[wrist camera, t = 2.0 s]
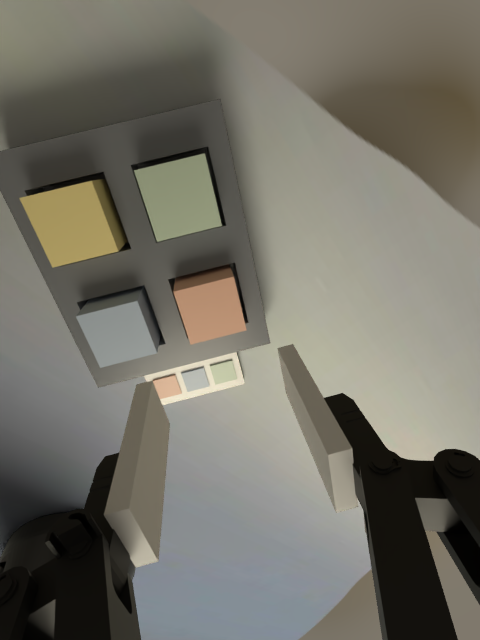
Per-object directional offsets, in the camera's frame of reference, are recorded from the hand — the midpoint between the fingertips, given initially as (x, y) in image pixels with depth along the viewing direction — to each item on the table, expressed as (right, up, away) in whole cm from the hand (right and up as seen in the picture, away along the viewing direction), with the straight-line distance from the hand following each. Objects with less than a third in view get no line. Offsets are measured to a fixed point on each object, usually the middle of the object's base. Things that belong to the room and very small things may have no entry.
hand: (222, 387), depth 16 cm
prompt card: (-4, -2, +17) cm, 18 cm away
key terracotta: (-2, +5, +12) cm, 13 cm away
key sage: (-3, +12, +8) cm, 15 cm away
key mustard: (-10, +11, +8) cm, 17 cm away
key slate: (-8, +4, +11) cm, 15 cm away
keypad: (-6, +9, +12) cm, 16 cm away
